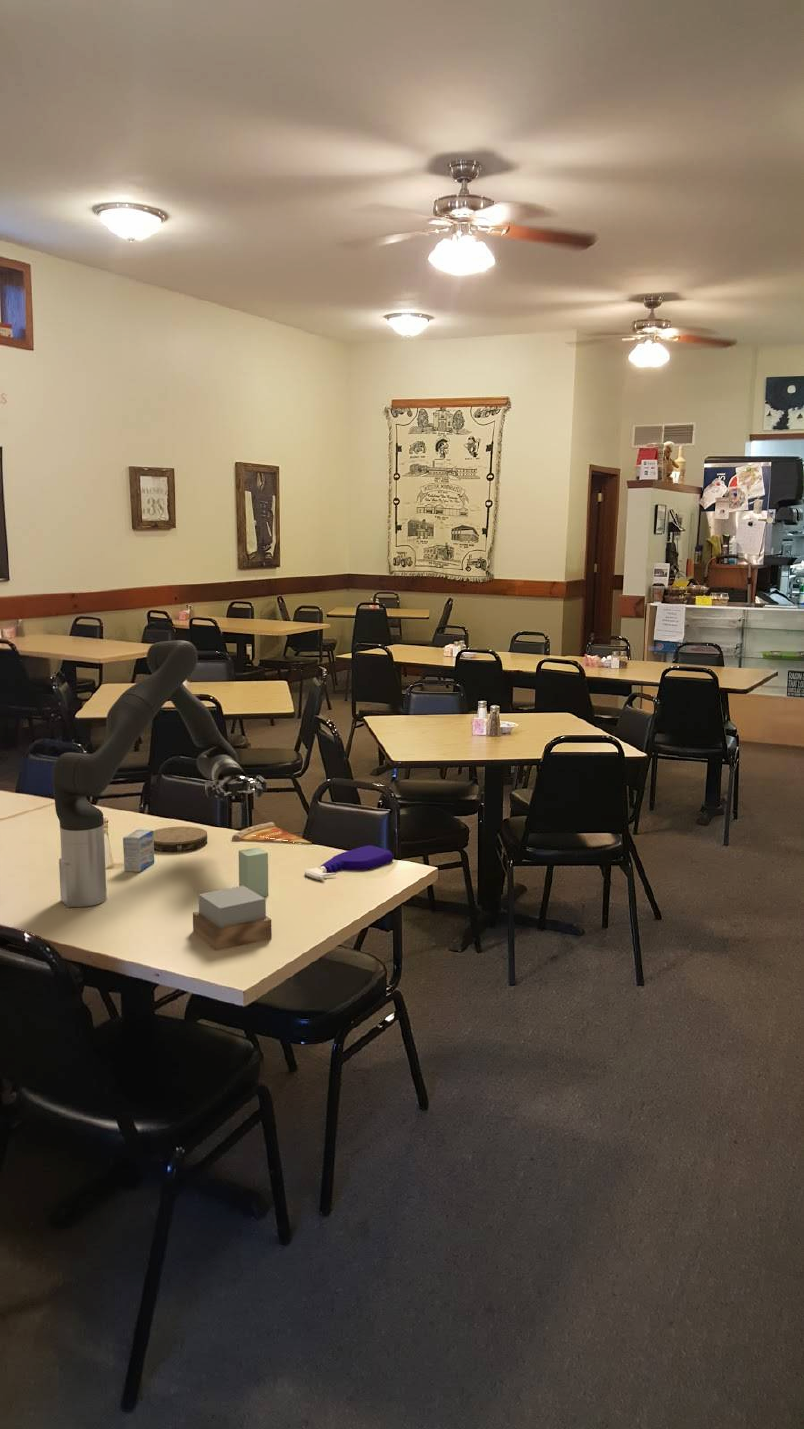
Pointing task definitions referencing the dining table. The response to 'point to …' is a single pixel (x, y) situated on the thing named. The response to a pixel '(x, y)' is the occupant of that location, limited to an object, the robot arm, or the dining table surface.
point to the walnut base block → (231, 932)
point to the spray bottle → (352, 861)
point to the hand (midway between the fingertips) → (241, 794)
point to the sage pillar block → (254, 870)
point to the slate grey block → (232, 906)
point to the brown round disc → (179, 839)
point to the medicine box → (138, 850)
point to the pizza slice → (267, 835)
